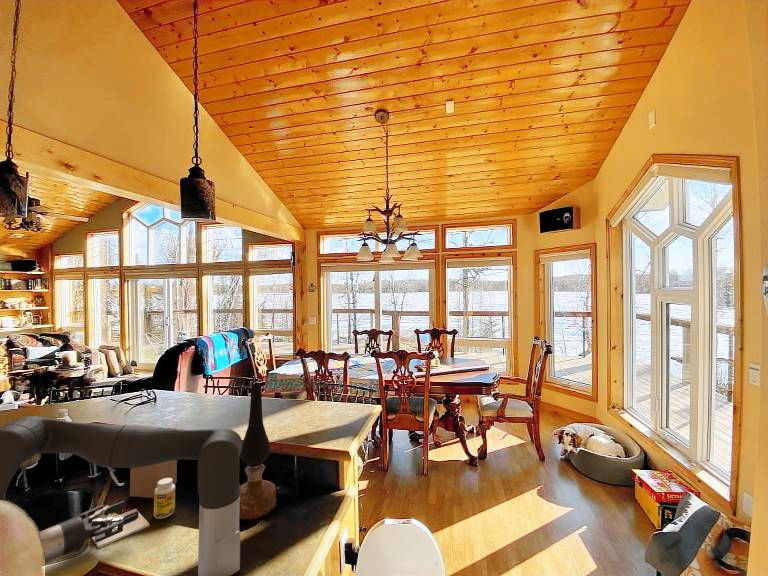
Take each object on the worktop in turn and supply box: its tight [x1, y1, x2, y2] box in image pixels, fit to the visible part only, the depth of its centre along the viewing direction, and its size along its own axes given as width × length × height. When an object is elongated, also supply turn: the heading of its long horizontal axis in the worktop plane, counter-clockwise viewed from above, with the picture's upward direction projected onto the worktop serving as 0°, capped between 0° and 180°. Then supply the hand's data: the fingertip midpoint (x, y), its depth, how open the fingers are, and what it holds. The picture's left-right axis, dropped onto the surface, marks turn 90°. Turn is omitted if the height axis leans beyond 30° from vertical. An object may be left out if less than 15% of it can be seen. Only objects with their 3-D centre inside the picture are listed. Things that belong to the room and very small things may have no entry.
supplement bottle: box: [153, 478, 176, 520], centre depth 110 cm, size 6×6×10 cm
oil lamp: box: [239, 383, 277, 520], centre depth 117 cm, size 14×15×40 cm
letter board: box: [91, 508, 150, 549], centre depth 103 cm, size 12×12×1 cm
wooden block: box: [129, 427, 178, 499], centre depth 123 cm, size 10×10×20 cm
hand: (131, 509), depth 102 cm, fingers open, 8 cm apart
